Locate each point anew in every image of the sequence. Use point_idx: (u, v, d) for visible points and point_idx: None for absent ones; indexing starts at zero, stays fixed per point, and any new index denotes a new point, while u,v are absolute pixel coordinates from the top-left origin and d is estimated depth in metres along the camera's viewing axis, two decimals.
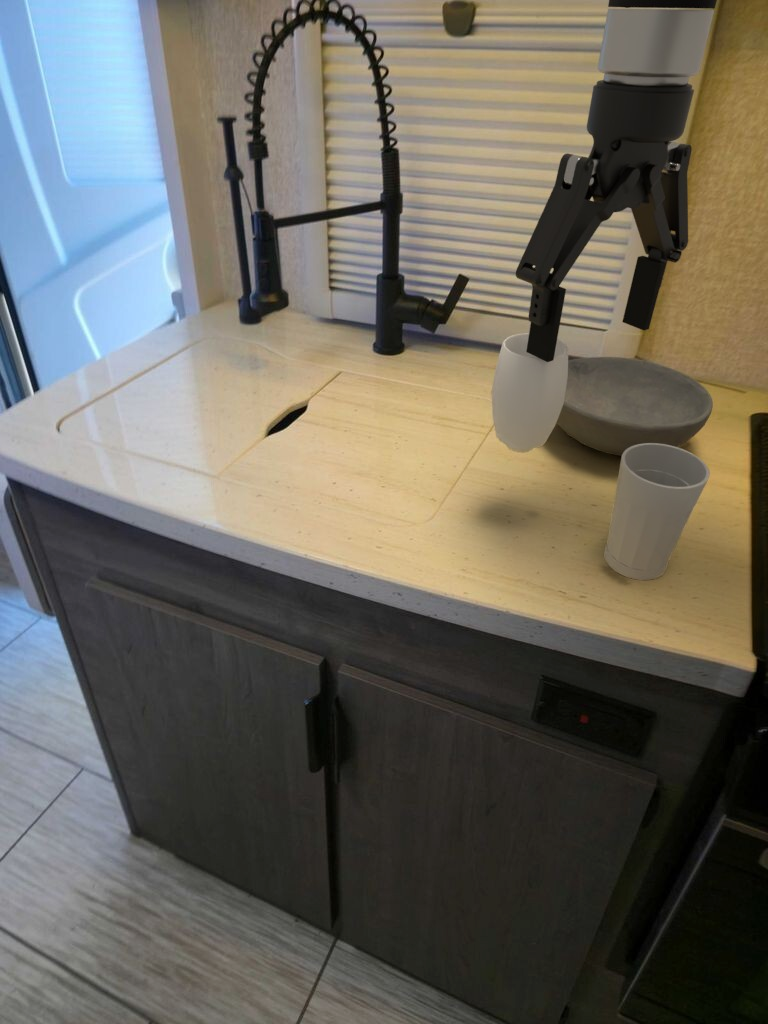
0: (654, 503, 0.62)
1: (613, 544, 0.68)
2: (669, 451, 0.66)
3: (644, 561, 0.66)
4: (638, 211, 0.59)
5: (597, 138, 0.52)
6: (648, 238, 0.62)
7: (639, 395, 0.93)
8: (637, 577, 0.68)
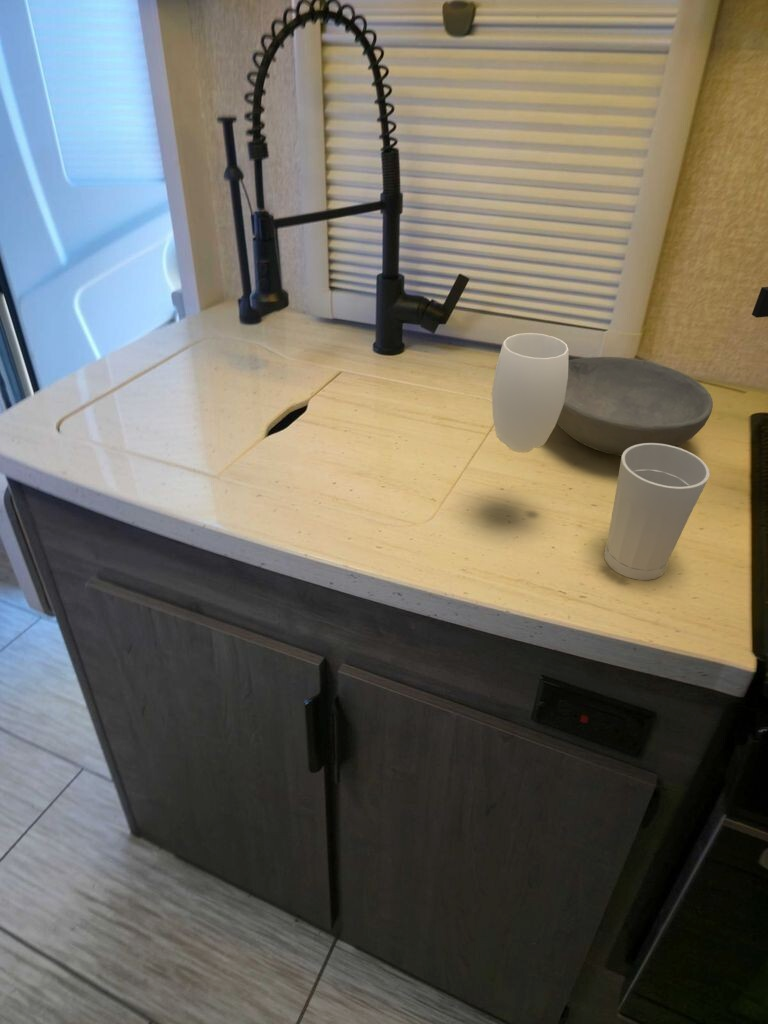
0: (654, 503, 0.62)
1: (613, 544, 0.68)
2: (669, 451, 0.66)
3: (644, 561, 0.66)
4: None
5: None
6: None
7: (639, 395, 0.93)
8: (637, 577, 0.68)
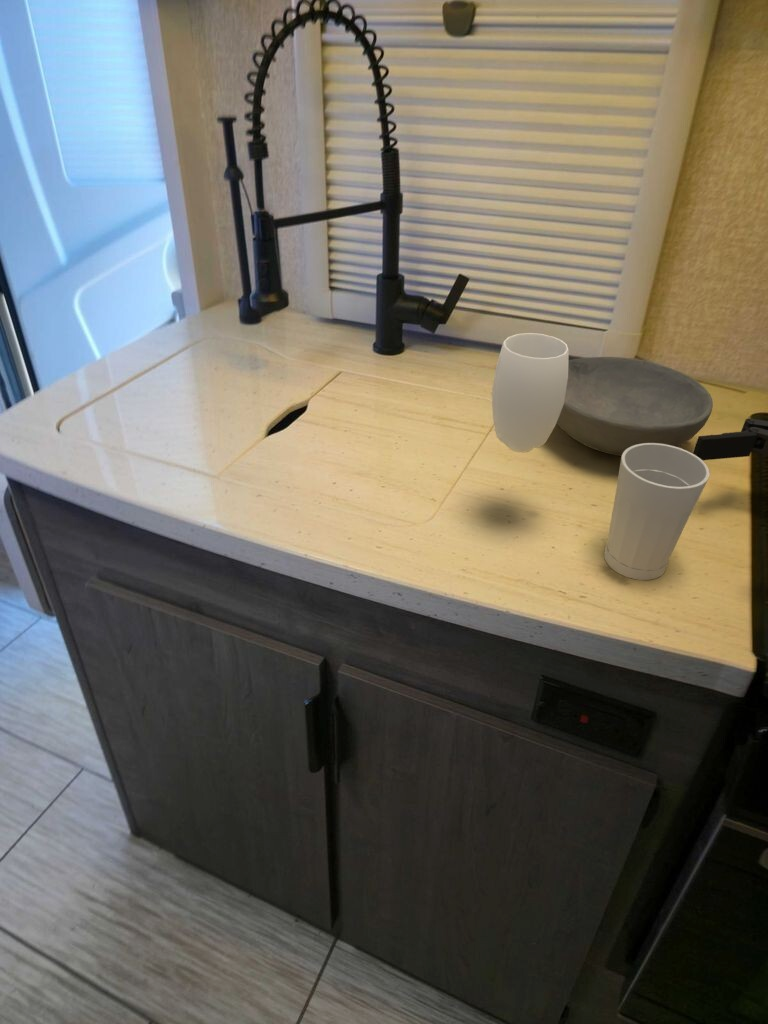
0: (654, 502, 0.62)
1: (613, 544, 0.68)
2: (669, 451, 0.66)
3: (644, 561, 0.66)
4: None
5: None
6: None
7: (639, 395, 0.93)
8: (637, 577, 0.68)
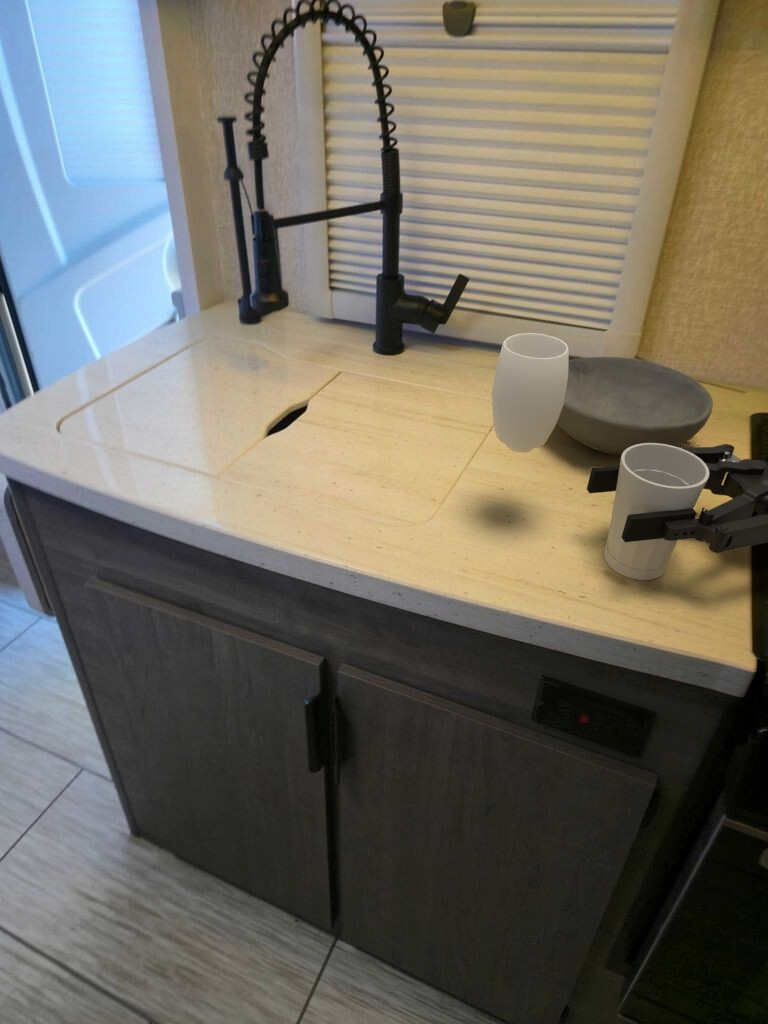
0: (654, 502, 0.62)
1: (613, 544, 0.68)
2: (669, 451, 0.66)
3: (644, 561, 0.66)
4: None
5: None
6: None
7: (639, 395, 0.93)
8: (637, 577, 0.68)
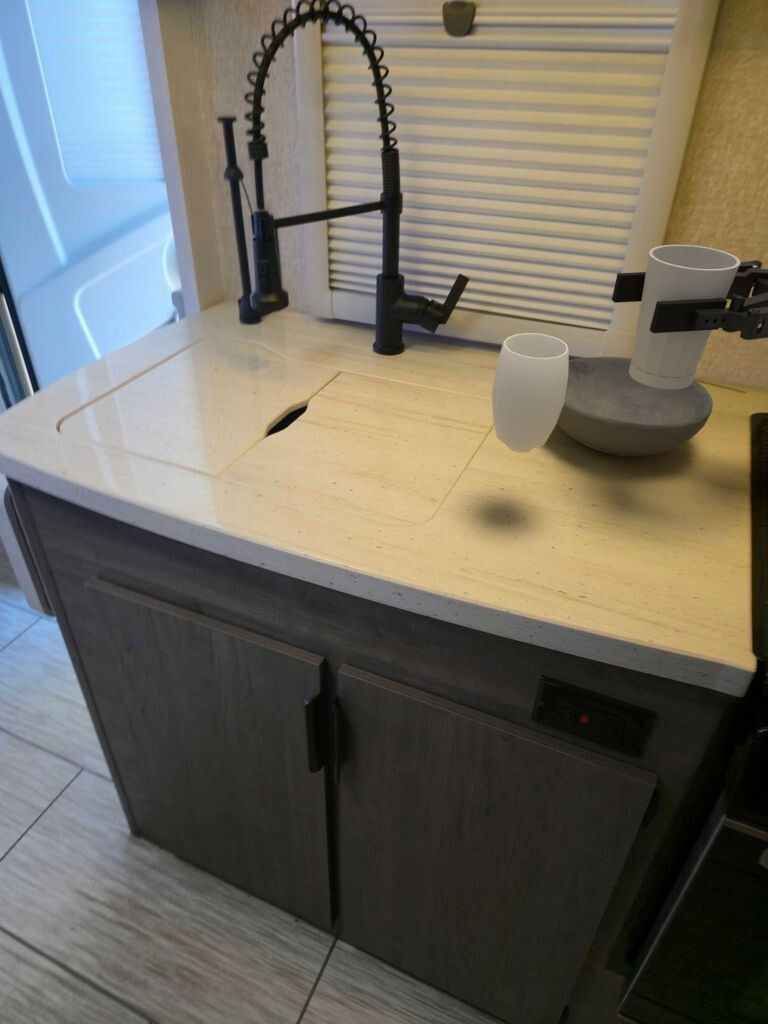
0: (684, 290, 0.60)
1: (639, 353, 0.67)
2: (697, 252, 0.65)
3: (671, 366, 0.65)
4: None
5: None
6: None
7: (639, 395, 0.93)
8: (663, 386, 0.66)
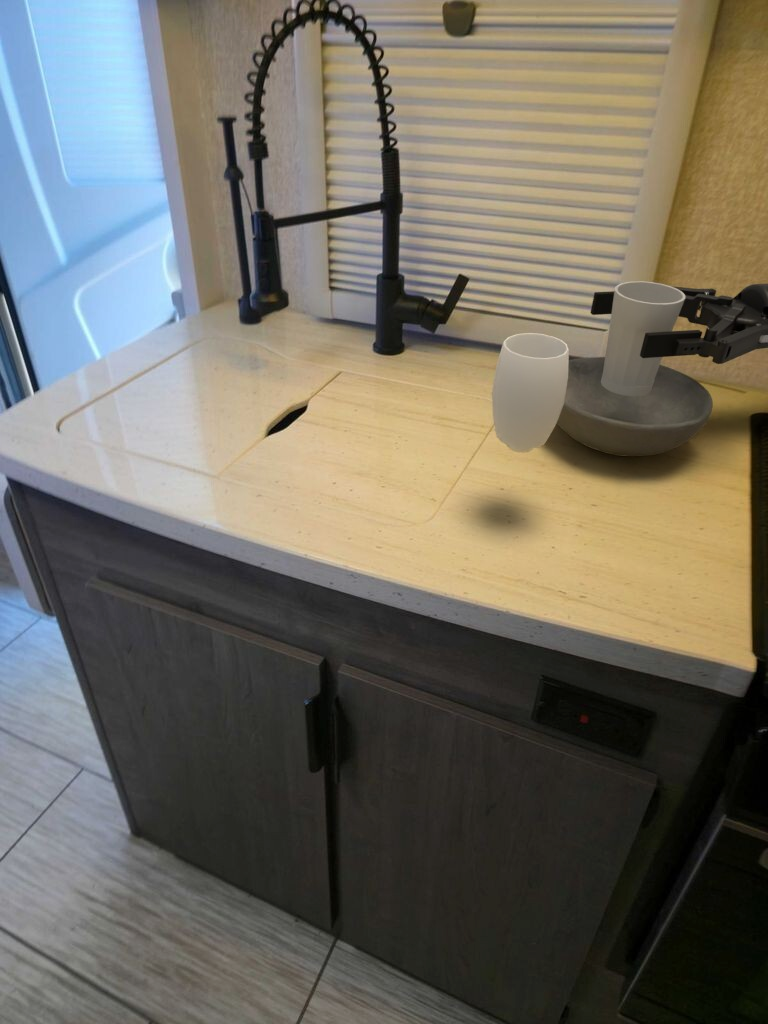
0: (641, 319, 0.77)
1: (608, 367, 0.83)
2: (654, 287, 0.81)
3: (633, 377, 0.82)
4: None
5: None
6: None
7: None
8: (627, 393, 0.83)
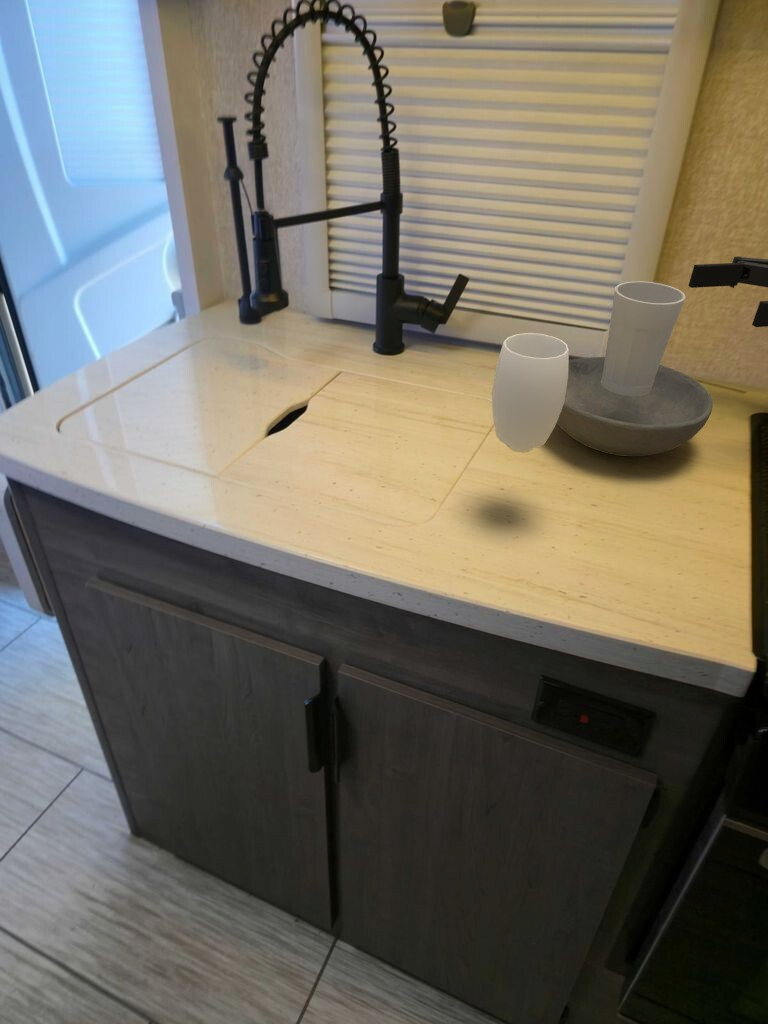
0: (641, 319, 0.77)
1: (608, 367, 0.83)
2: (654, 287, 0.81)
3: (633, 377, 0.82)
4: None
5: None
6: None
7: None
8: (627, 393, 0.83)
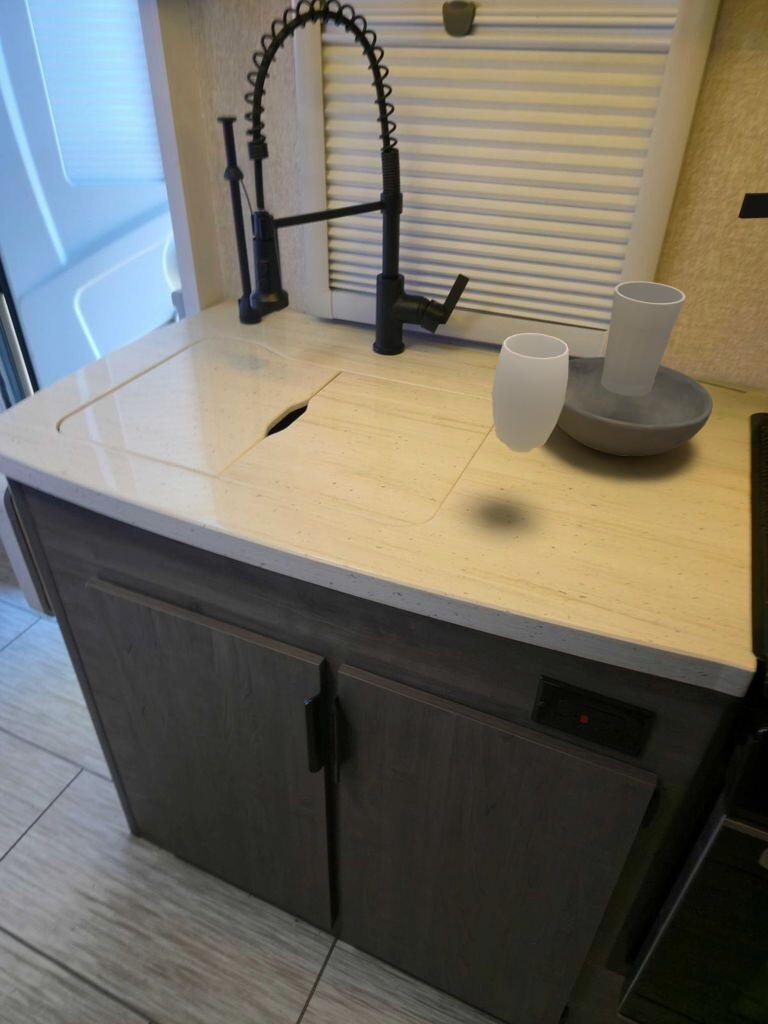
0: (641, 319, 0.77)
1: (608, 367, 0.83)
2: (654, 287, 0.81)
3: (633, 377, 0.82)
4: None
5: None
6: None
7: None
8: (627, 393, 0.83)
